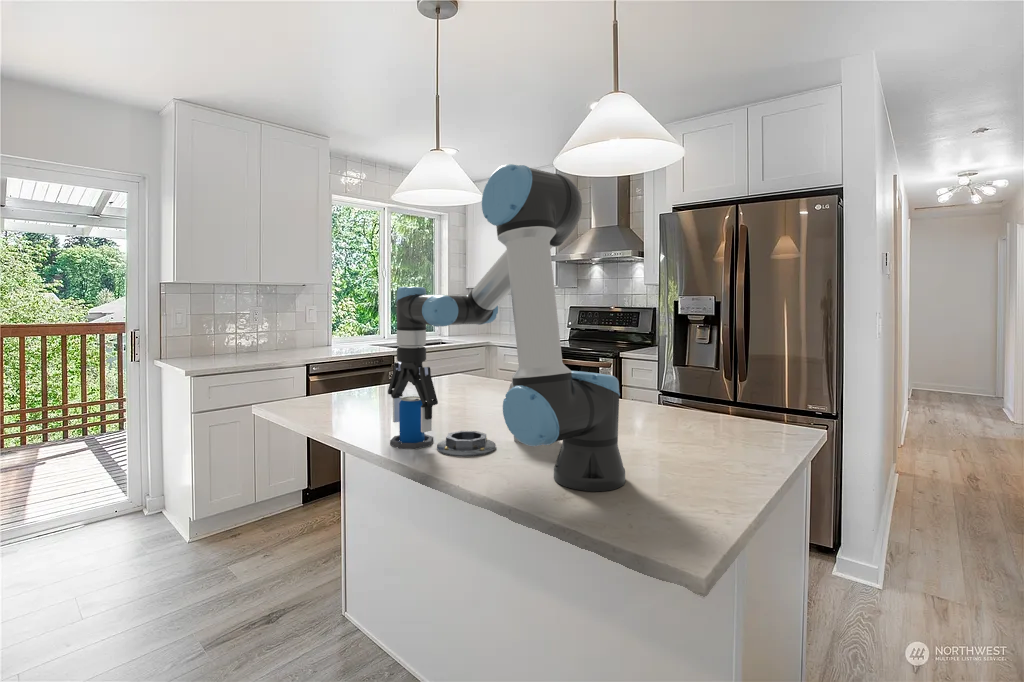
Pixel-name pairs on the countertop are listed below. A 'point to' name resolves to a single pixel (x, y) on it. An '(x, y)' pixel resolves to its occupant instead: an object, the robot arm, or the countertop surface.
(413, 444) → the stand ring
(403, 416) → the beverage can
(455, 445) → the hub socket
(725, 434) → the countertop surface
